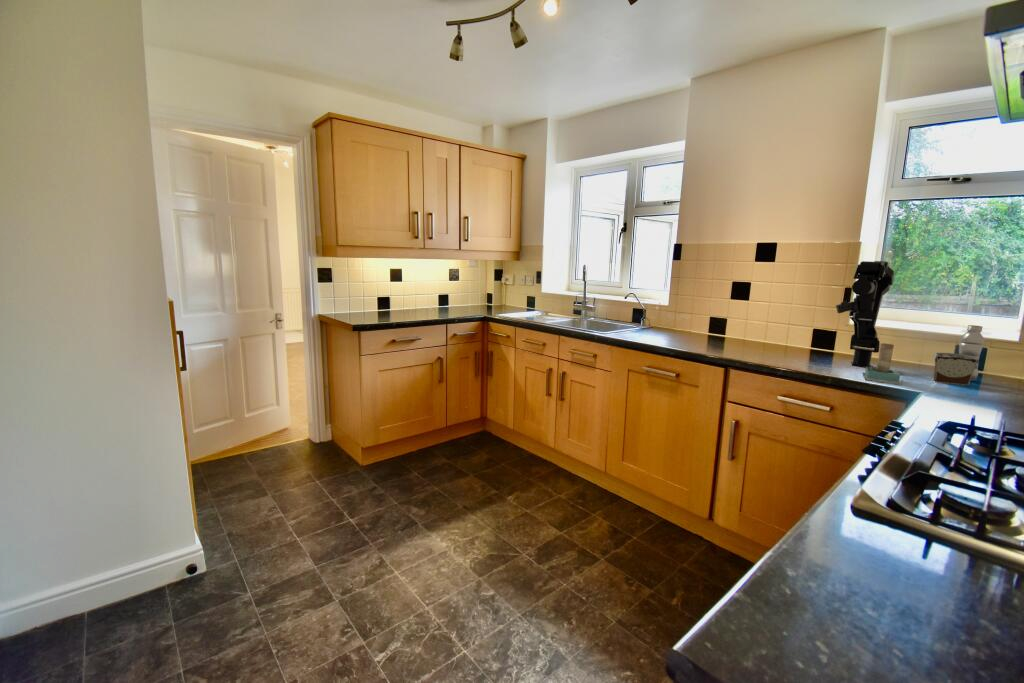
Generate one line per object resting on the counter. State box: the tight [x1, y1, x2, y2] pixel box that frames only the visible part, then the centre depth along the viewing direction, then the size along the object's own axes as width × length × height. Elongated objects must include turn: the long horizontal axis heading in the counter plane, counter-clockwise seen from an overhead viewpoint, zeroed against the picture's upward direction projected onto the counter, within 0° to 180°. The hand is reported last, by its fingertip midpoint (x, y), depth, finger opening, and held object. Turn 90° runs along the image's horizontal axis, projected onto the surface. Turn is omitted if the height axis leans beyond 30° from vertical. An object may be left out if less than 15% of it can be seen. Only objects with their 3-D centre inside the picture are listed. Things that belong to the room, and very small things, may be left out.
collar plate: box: [862, 366, 902, 385], centre depth 163 cm, size 10×10×3 cm
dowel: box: [875, 342, 895, 373], centre depth 163 cm, size 4×4×12 cm
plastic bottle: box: [958, 324, 986, 382], centre depth 166 cm, size 6×7×20 cm
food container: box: [932, 352, 980, 386], centre depth 164 cm, size 12×6×10 cm, turn 71°
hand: (858, 337), depth 174 cm, fingers open, 9 cm apart
